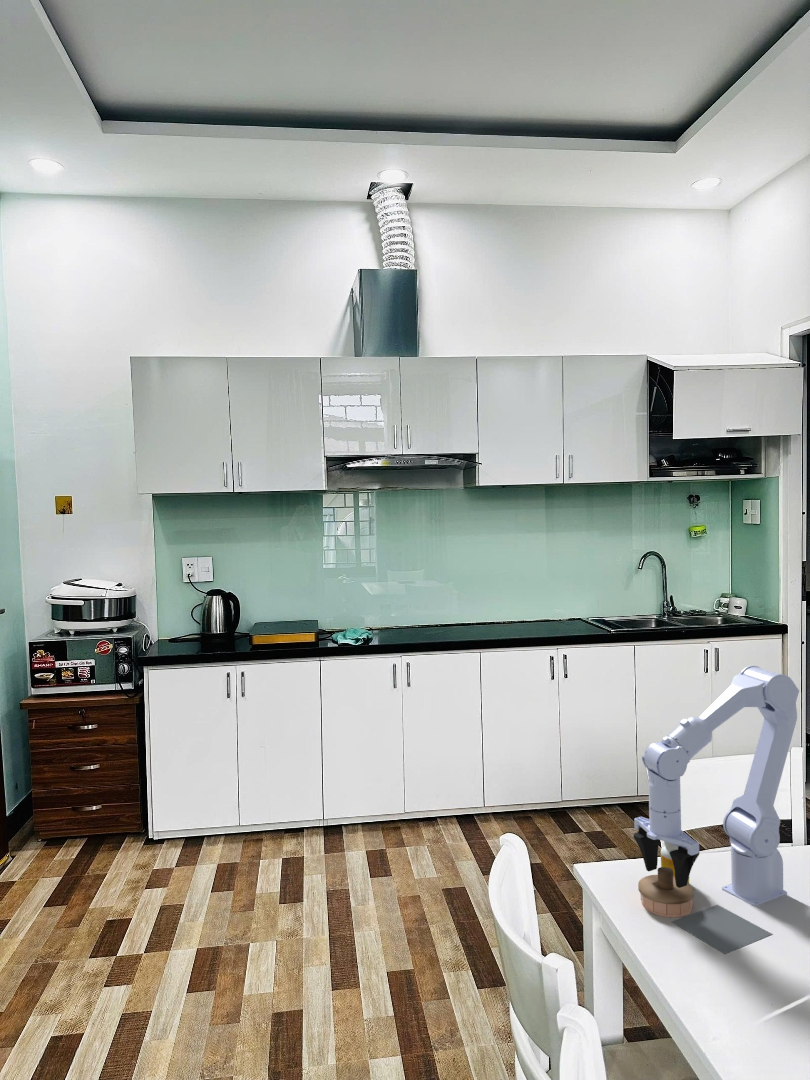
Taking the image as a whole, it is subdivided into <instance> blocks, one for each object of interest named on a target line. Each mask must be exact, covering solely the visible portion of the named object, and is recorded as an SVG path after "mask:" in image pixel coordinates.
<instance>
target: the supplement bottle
mask: <svg viewBox="0 0 810 1080" xmlns="http://www.w3.org/2000/svg"><path fill="white" fill-rule="evenodd" d="M663 845H664V846H662V847H661V849H660V867H667V868H670V869H672V870H673V876H674V877H675V870H674V865H673V861H672V858H671V856H670V851H673V850H678V847H677V846H675V845H673V844H671V843H669V842H666V841H663ZM688 883H689V884H690V877H689V878H688Z"/></svg>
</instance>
